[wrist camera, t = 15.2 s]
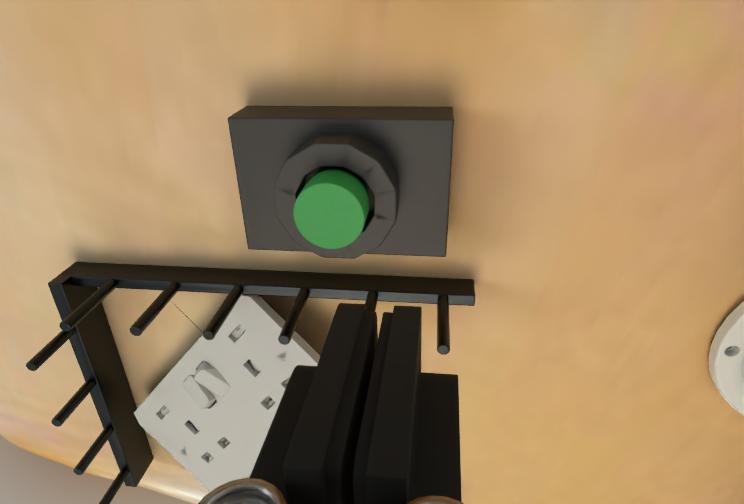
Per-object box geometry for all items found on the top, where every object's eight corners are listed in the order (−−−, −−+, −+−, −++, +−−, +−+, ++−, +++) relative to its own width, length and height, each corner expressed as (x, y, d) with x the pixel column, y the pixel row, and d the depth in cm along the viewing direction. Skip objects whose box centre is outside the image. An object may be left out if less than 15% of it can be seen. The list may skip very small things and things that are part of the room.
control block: (452, 106, 28) (454, 129, 23) (445, 234, 32) (446, 274, 27) (246, 105, 29) (212, 127, 25) (262, 228, 33) (236, 265, 29)
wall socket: (265, 487, 44) (245, 525, 40) (122, 391, 44) (88, 421, 40) (373, 347, 36) (360, 379, 33) (200, 230, 36) (167, 249, 32)
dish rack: (473, 279, 33) (481, 346, 27) (453, 506, 44) (455, 590, 38) (75, 261, 36) (1, 318, 30) (150, 477, 47) (107, 551, 41)
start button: (368, 169, 25) (363, 183, 24) (370, 233, 27) (365, 250, 25) (300, 168, 26) (289, 182, 24) (305, 231, 27) (296, 248, 26)
